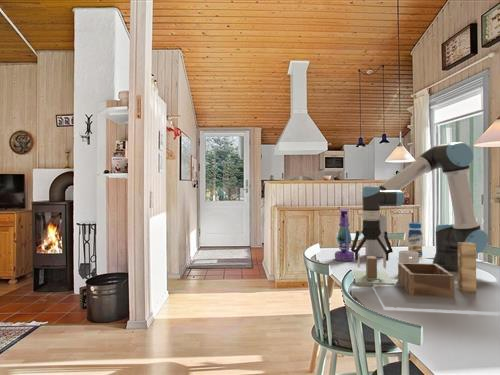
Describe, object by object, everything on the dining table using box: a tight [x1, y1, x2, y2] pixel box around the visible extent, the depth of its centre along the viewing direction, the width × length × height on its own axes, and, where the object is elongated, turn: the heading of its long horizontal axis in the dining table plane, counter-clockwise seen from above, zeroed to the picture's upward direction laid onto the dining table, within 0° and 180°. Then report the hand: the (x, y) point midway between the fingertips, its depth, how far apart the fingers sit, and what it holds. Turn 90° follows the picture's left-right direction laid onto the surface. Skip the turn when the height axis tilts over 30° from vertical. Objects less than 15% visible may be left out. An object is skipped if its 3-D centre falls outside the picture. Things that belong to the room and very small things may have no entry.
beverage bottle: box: [407, 222, 423, 257], centre depth 232 cm, size 8×8×20 cm
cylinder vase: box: [364, 214, 388, 259], centre depth 231 cm, size 12×12×25 cm
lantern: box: [334, 208, 355, 262], centre depth 220 cm, size 13×12×30 cm
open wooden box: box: [397, 262, 455, 298], centre depth 155 cm, size 22×16×9 cm
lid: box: [352, 255, 395, 287], centre depth 173 cm, size 22×16×10 cm
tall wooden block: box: [457, 242, 477, 293], centre depth 151 cm, size 5×5×20 cm
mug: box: [398, 250, 420, 263], centre depth 181 cm, size 12×9×11 cm
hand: (371, 267), depth 172 cm, fingers open, 11 cm apart
